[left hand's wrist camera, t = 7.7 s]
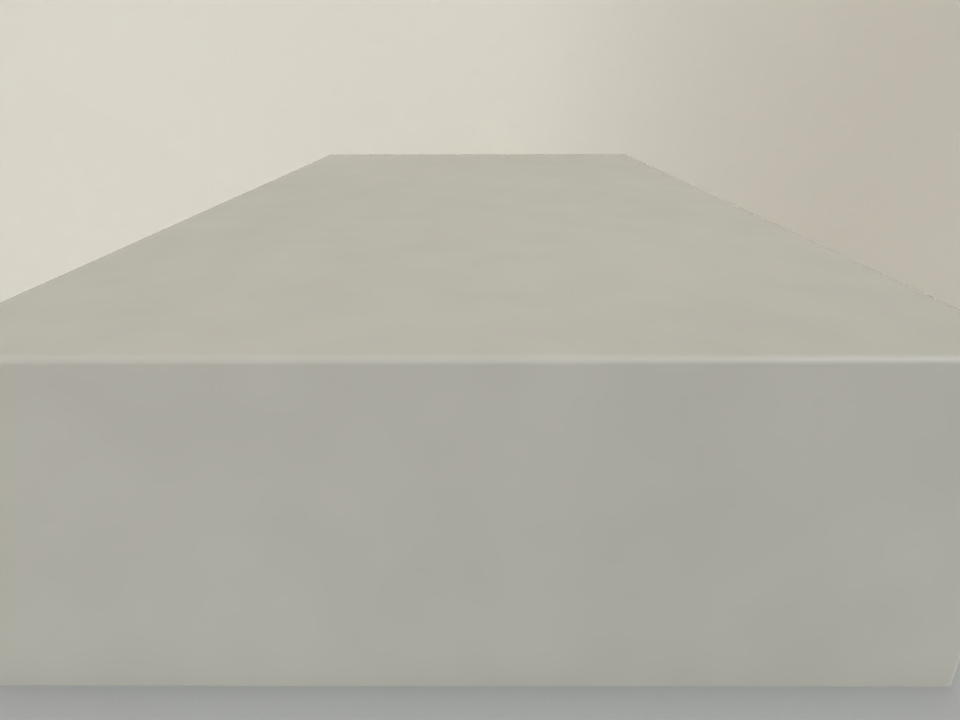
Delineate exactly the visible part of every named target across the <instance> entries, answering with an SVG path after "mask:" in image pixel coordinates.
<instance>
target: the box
mask: <svg viewBox="0 0 960 720" xmlns="http://www.w3.org/2000/svg"><path fill="white" fill-rule="evenodd" d="M959 661H960V310H958V309H956V308H954V307H952V306H950V305H948V304H946V303H943V302H941V301H939V300H937V299H935V298H933V297H931V296H928V295H926V294H924V293H922V292H920V291H918V290H915V289H913V288H911V287H909V286H907V285H905V284H903V283H900V282H898V281H896V280H894V279H892V278H890V277H887V276H885V275H883V274H881V273H879V272H877V271H875V270H872V269H870V268H868V267H866V266H864V265H862V264H860V263H857V262H855V261H853V260H851V259H849V258H847V257H844V256H842V255H840V254H838V253H836V252H834V251H832V250H829V249H827V248H825V247H823V246H821V245H819V244H816V243H814V242H812V241H810V240H808V239H806V238H804V237H801V236H799V235H797V234H795V233H793V232H791V231H788V230H786V229H784V228H782V227H780V226H778V225H776V224H773V223H771V222H769V221H767V220H765V219H763V218H761V217H758V216H756V215H754V214H752V213H750V212H748V211H745V210H743V209H741V208H739V207H737V206H735V205H733V204H730V203H728V202H726V201H724V200H722V199H720V198H717V197H715V196H713V195H711V194H709V193H707V192H705V191H702V190H700V189H698V188H696V187H694V186H692V185H690V184H687V183H685V182H683V181H681V180H679V179H677V178H674V177H672V176H670V175H668V174H666V173H664V172H662V171H659V170H657V169H655V168H653V167H651V166H649V165H646V164H644V163H642V162H640V161H638V160H636V159H634V158H631V157H629V156H627V155H625V154H528V155H330V156H327V157H325V158H323V159H321V160H318V161H316V162H314V163H312V164H309V165H307V166H305V167H303V168H300V169H298V170H296V171H294V172H292V173H289V174H287V175H285V176H283V177H280V178H278V179H276V180H274V181H271V182H269V183H267V184H265V185H263V186H260V187H258V188H256V189H254V190H251V191H249V192H247V193H245V194H242V195H240V196H238V197H236V198H233V199H231V200H229V201H227V202H225V203H222V204H220V205H218V206H216V207H213V208H211V209H209V210H207V211H204V212H202V213H200V214H198V215H195V216H193V217H191V218H189V219H187V220H184V221H182V222H180V223H178V224H175V225H173V226H171V227H169V228H166V229H164V230H162V231H160V232H158V233H155V234H153V235H151V236H149V237H146V238H144V239H142V240H140V241H137V242H135V243H133V244H131V245H128V246H126V247H124V248H122V249H120V250H117V251H115V252H113V253H111V254H108V255H106V256H104V257H102V258H99V259H97V260H95V261H93V262H91V263H88V264H86V265H84V266H82V267H79V268H77V269H75V270H73V271H70V272H68V273H66V274H64V275H61V276H59V277H57V278H55V279H53V280H50V281H48V282H46V283H44V284H41V285H39V286H37V287H35V288H32V289H30V290H28V291H26V292H24V293H21V294H19V295H17V296H15V297H12V298H10V299H8V300H6V301H3V302H1V303H0V686H911V687H947V686H950V685H951V684H952V681H953V679H954V676H955V673H956V670H957V667H958V664H959Z"/></svg>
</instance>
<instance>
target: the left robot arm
mask: <svg viewBox="0 0 960 720" xmlns="http://www.w3.org/2000/svg"><path fill="white" fill-rule="evenodd" d="M0 720H960V661H959V664H958V667H957V670H956V673H955V676H954V679H953V681H952V684H951V685H950V686H947V687H911V686H0Z"/></svg>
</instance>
